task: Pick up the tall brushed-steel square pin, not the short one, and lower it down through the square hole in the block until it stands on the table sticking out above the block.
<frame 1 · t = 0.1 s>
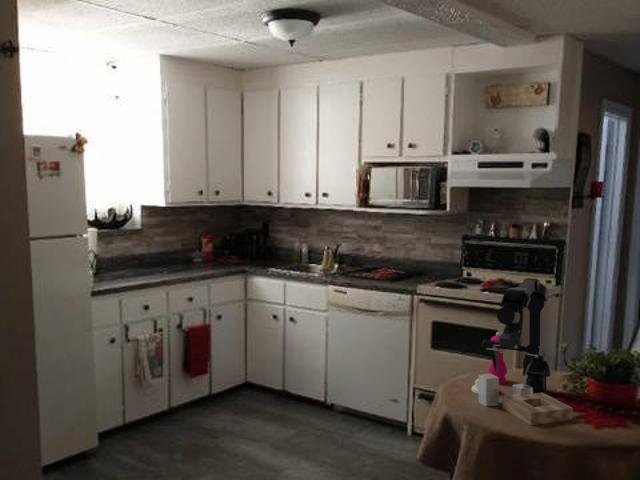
hand: (509, 373, 200), 15 cm above the table, tool pointing down, fingers open, 9 cm apart
mechanical component: (485, 392, 229), on the table
long pin: (488, 403, 216), on the table
hole block: (536, 413, 206), on the table
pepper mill: (497, 381, 241), on the table
short pin: (522, 399, 220), on the table
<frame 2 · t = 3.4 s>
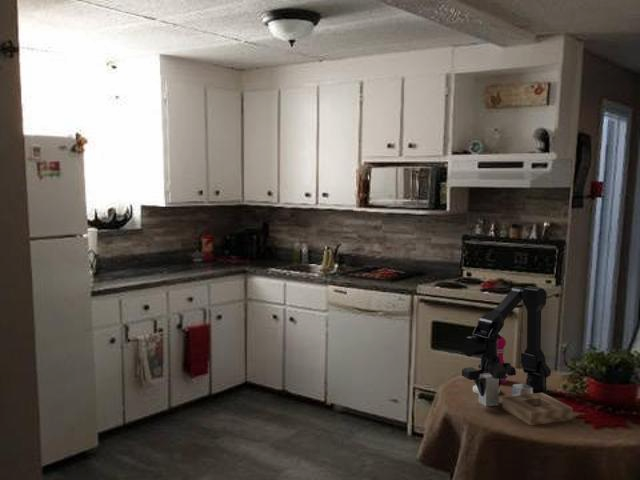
hand: (488, 395, 216), 3 cm above the table, tool pointing down, fingers closed on long pin, 5 cm apart
long pin: (488, 403, 216), on the table, touching gripper
everything else where it was.
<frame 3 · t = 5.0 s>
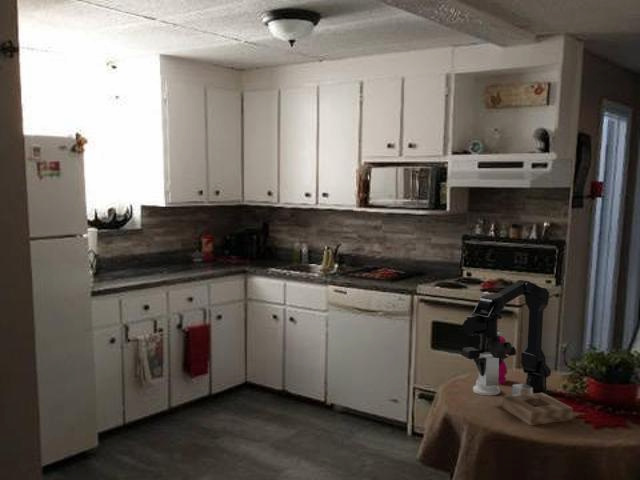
hand: (488, 375, 215), 10 cm above the table, tool pointing down, fingers closed on long pin, 5 cm apart
long pin: (488, 383, 216), point 7 cm above the table, touching gripper
everything else where it was.
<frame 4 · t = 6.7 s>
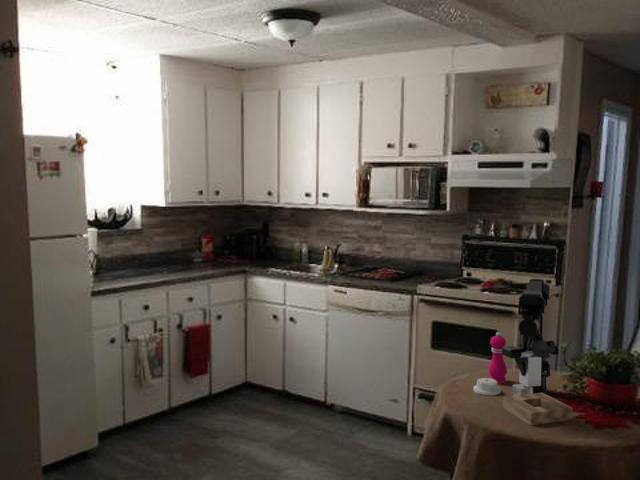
hand: (530, 375, 206), 13 cm above the table, tool pointing down, fingers closed on long pin, 5 cm apart
long pin: (529, 383, 206), point 10 cm above the table, touching gripper
everything else where it was.
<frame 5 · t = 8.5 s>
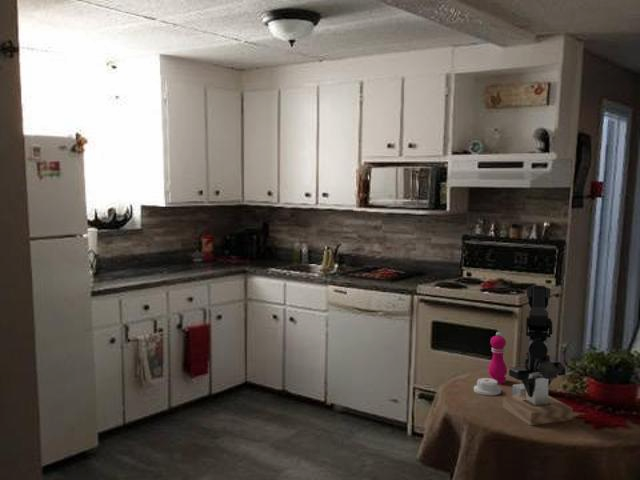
hand: (536, 395, 205), 6 cm above the table, tool pointing down, fingers closed on long pin, 5 cm apart
long pin: (536, 404, 205), point 3 cm above the table, touching gripper
everything else where it was.
when the fingers open (5 cm above the table, at t = 10.0 s): long pin drops 2 cm, resting in hole block.
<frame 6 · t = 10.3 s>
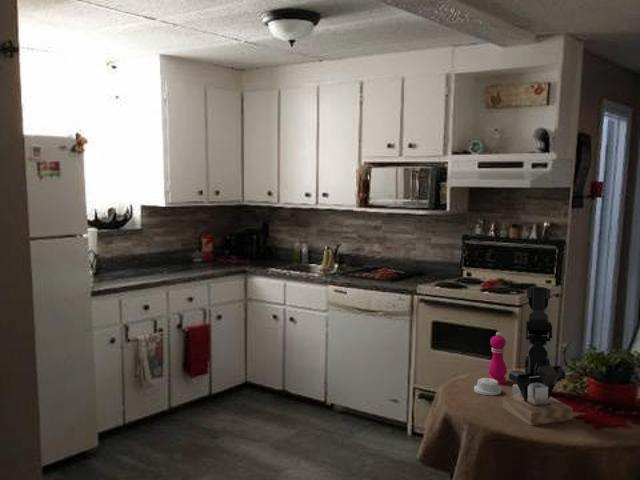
hand: (536, 399, 205), 5 cm above the table, tool pointing down, fingers open, 8 cm apart
long pin: (536, 414, 206), resting in hole block
everything else where it was.
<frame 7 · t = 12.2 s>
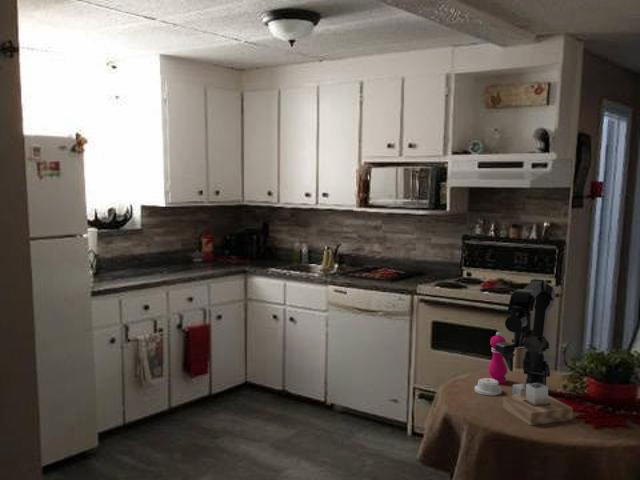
hand: (522, 369, 214), 13 cm above the table, tool pointing down, fingers open, 9 cm apart
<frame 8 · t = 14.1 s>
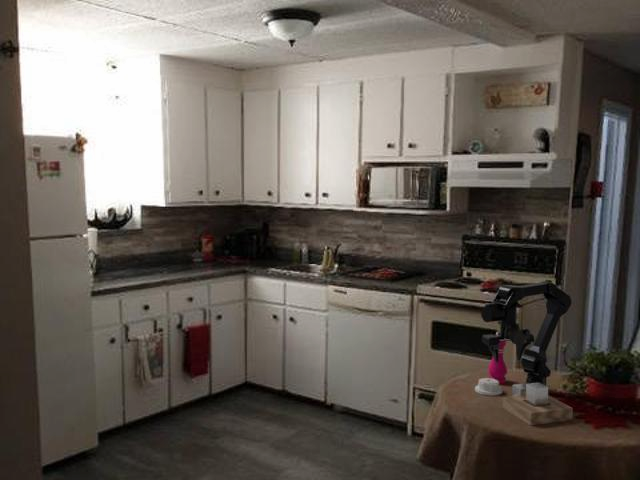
hand: (507, 361, 223), 13 cm above the table, tool pointing down, fingers open, 9 cm apart
at the end: long pin 0.0 cm off-centre on the hole block, point 0.0 cm above the hole block's base; long pin tilted 0°; short pin moved 0.1 cm from its start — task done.
